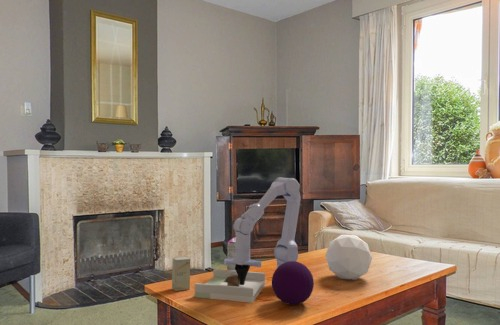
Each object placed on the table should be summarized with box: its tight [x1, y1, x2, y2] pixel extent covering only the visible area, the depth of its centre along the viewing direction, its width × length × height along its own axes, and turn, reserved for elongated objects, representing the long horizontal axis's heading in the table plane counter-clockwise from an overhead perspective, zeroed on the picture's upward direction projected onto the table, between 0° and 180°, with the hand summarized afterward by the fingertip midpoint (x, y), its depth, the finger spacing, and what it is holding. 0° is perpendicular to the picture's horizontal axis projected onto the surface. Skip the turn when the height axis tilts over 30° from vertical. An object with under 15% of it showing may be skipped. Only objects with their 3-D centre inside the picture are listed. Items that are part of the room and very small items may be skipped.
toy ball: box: [271, 261, 315, 306], centre depth 149 cm, size 15×15×15 cm
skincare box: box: [171, 256, 191, 292], centre depth 165 cm, size 6×4×12 cm
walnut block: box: [227, 274, 240, 287], centre depth 163 cm, size 4×4×4 cm
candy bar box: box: [226, 236, 236, 271], centre depth 183 cm, size 11×5×16 cm, turn 168°
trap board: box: [194, 268, 266, 304], centre depth 163 cm, size 22×22×5 cm
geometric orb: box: [325, 234, 373, 281], centre depth 183 cm, size 19×20×20 cm
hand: (242, 284), depth 162 cm, fingers closed
